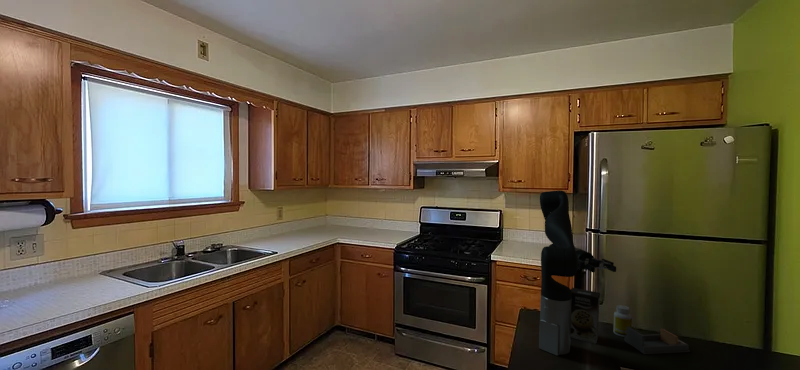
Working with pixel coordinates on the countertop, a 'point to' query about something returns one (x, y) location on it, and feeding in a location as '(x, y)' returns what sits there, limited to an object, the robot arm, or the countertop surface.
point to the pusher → (668, 337)
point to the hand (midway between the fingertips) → (604, 269)
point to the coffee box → (585, 315)
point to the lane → (652, 343)
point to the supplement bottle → (622, 320)
